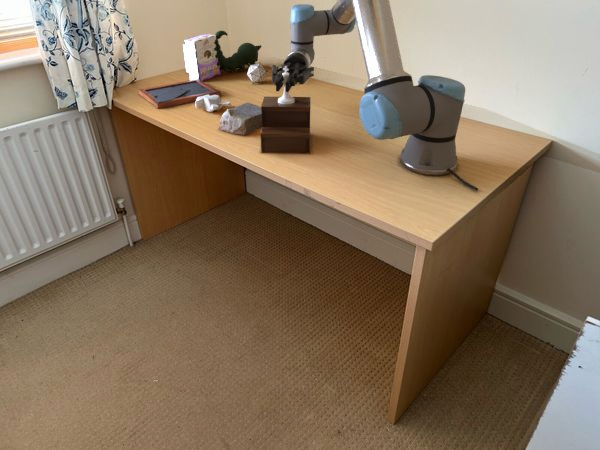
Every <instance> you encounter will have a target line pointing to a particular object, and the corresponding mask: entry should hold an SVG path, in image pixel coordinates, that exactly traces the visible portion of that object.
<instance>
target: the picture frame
mask: <svg viewBox="0 0 600 450" xmlns="http://www.w3.org/2000/svg"><path fill="white" fill-rule="evenodd" d="M138 94H139V95H140V96H141V97H142V98H144V99H145V100H146V101H148V102H149V104H151V105H153V107H155V108H156V109H163V108H168V107H173V106H178V105H181V104H187V103H192V102H196V99H197V97H200V96H204V95H209V96H212V95H218V96H219V97H221V90H219V89H217V88H215V87H213V86H212V85H210V84H208V83H206V82H205V81H201V80H199V79H195V80H190V79H189V80H185V81H179V82H172V83H168V84H162V85H155V86H150V87H146V88H145V87H144V88H141V89H140V88H139V89H138Z"/></svg>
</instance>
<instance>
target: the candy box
mask: <svg viewBox="0 0 600 450" xmlns="http://www.w3.org/2000/svg"><path fill="white" fill-rule="evenodd" d="M193 37H194V38H192V37H191V38H187V39H184V40H183V42H184V44H185V49H186V56H187V63H188V70H189V73H188V77H189V80H195V79H199V80H201V81H203V82H205V81H206V80H209V79H212V78H214V77H217V76H219V75H221V70H220V65H219V66H217V62H218V58H215V55H217V52H216V51H215V50H214V48H215V47H216V45H215V44H214V42H215V40H216V35H215V34H209V33H204V34H202V35H201V34H200V35H198V36H193Z"/></svg>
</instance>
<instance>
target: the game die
mask: <svg viewBox="0 0 600 450" xmlns="http://www.w3.org/2000/svg"><path fill="white" fill-rule="evenodd" d="M261 63H262V62H261V61H259V63H255V64H253V65H250V63H249V65H250V67H248V70H247V74H245V75H244V76H245V77H248V78H249V79H250V81H251V82H252V85H254V84H256V83H260V82H262V83H264V84H265V81H264V80H265V77H266V73H268V72H269V70H266V69H265V68H264V67H263V65H262V64H261Z"/></svg>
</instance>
